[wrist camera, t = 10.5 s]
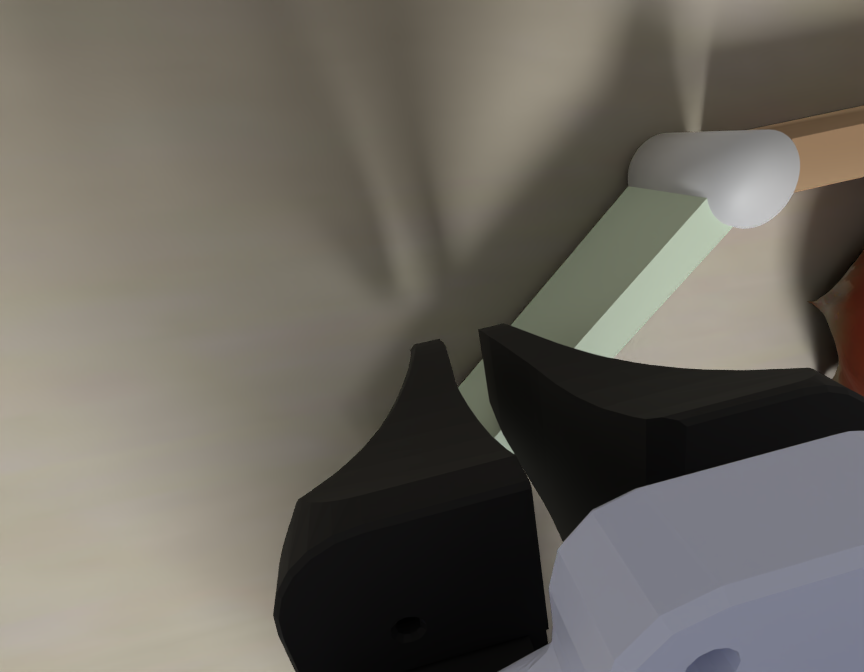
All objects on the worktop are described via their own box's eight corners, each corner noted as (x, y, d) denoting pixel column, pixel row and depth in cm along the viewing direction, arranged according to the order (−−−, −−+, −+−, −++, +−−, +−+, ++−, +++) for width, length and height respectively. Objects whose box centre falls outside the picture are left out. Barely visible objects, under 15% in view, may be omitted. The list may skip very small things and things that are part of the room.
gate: (665, 116, 13) (766, 107, 10) (709, 165, 14) (816, 172, 11) (371, 467, 15) (378, 549, 12) (421, 494, 16) (439, 578, 13)
